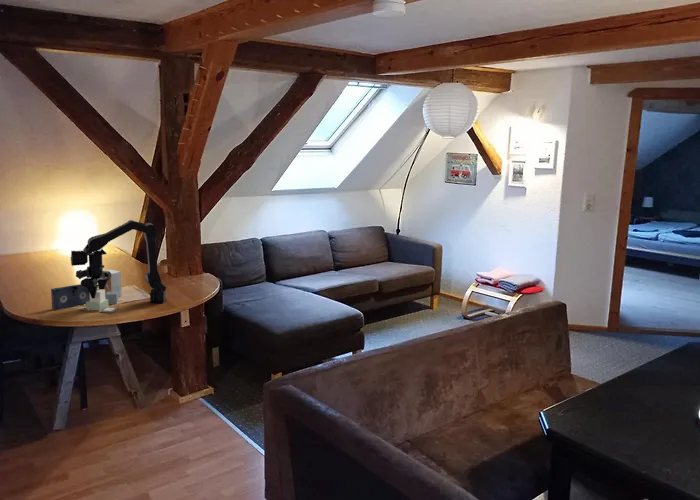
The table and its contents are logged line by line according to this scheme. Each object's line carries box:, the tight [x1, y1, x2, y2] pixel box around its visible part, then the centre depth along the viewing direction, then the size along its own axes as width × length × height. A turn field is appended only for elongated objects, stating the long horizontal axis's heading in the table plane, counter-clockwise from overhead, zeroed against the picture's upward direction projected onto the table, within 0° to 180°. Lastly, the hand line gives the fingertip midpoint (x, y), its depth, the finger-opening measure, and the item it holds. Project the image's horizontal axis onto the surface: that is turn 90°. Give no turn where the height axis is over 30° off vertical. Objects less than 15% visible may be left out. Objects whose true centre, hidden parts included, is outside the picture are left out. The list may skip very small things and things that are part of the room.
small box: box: [104, 269, 123, 298], centre depth 280 cm, size 8×6×13 cm
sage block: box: [85, 298, 110, 312], centre depth 261 cm, size 7×7×4 cm
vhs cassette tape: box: [50, 283, 90, 311], centre depth 262 cm, size 18×3×10 cm, turn 139°
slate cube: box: [105, 291, 119, 305], centre depth 270 cm, size 5×5×5 cm
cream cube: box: [89, 288, 106, 303], centre depth 260 cm, size 5×5×5 cm
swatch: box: [99, 307, 119, 314], centre depth 258 cm, size 6×6×1 cm
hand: (97, 296), depth 260 cm, fingers open, 7 cm apart
